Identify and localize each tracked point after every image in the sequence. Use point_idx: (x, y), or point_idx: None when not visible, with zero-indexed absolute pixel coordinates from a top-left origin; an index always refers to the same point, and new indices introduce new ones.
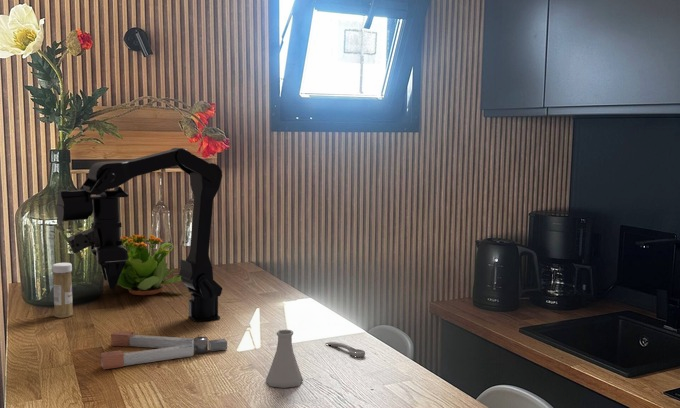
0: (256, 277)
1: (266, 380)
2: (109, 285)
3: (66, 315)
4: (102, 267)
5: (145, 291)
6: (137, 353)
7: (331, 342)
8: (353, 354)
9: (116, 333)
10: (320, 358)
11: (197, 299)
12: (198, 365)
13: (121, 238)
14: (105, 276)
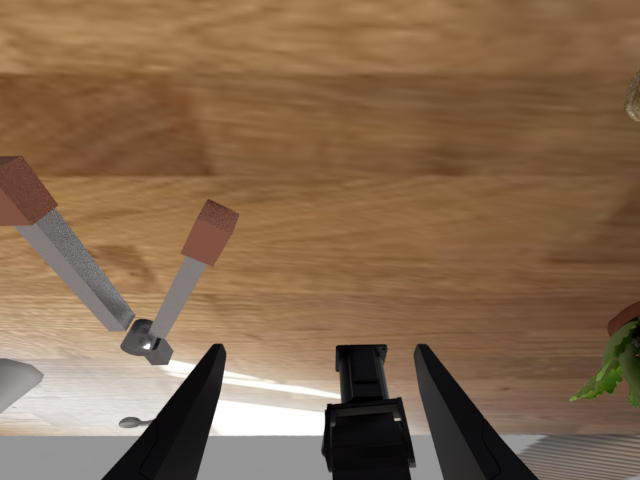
0: (543, 424)
1: (2, 360)
2: (198, 362)
3: (630, 92)
4: (450, 416)
5: (627, 319)
6: (41, 250)
7: None
8: (122, 420)
9: (200, 231)
10: (119, 401)
11: (351, 392)
12: (71, 312)
13: None
14: (422, 364)
